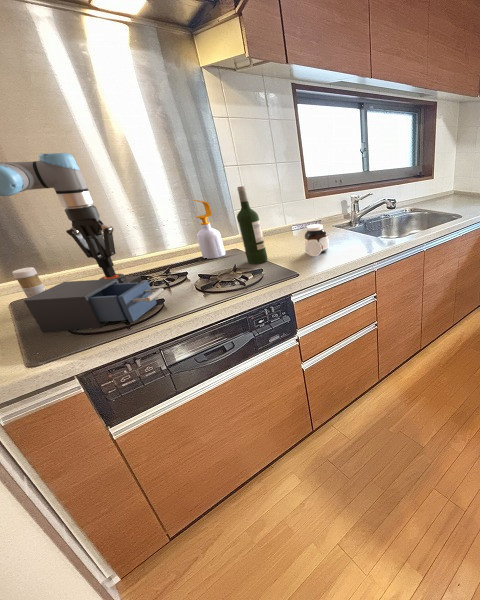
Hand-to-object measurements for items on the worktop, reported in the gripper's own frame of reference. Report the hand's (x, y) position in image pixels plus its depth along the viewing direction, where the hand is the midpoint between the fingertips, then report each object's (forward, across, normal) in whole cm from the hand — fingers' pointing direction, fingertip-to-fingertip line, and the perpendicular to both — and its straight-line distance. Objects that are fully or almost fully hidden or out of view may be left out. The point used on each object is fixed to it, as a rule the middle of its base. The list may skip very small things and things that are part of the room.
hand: (111, 275), depth 112 cm
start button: (+2, 0, 0) cm, 2 cm away
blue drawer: (+4, -19, +24) cm, 31 cm away
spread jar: (+5, -67, -28) cm, 73 cm away
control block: (+5, 0, 0) cm, 5 cm away
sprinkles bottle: (+5, +10, +16) cm, 19 cm away
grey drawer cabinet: (+5, -8, +24) cm, 26 cm away
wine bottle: (+5, -43, -21) cm, 48 cm away
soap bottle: (+5, -21, -32) cm, 38 cm away
